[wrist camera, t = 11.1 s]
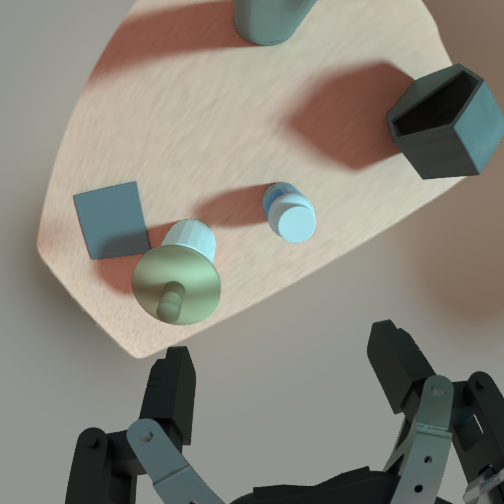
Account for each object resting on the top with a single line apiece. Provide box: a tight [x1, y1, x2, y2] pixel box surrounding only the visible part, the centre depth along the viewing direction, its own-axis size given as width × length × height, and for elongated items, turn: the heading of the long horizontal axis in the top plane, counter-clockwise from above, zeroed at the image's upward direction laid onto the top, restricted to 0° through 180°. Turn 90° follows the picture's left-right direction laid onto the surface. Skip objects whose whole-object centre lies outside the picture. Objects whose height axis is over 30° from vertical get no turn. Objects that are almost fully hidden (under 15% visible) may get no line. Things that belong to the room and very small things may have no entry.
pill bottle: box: [262, 182, 316, 243], centre depth 37 cm, size 6×6×11 cm
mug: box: [160, 219, 216, 264], centre depth 41 cm, size 8×12×10 cm
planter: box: [386, 64, 504, 180], centre depth 29 cm, size 17×8×21 cm
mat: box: [74, 181, 151, 260], centre depth 42 cm, size 12×12×1 cm
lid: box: [132, 244, 221, 325], centre depth 34 cm, size 12×12×6 cm
